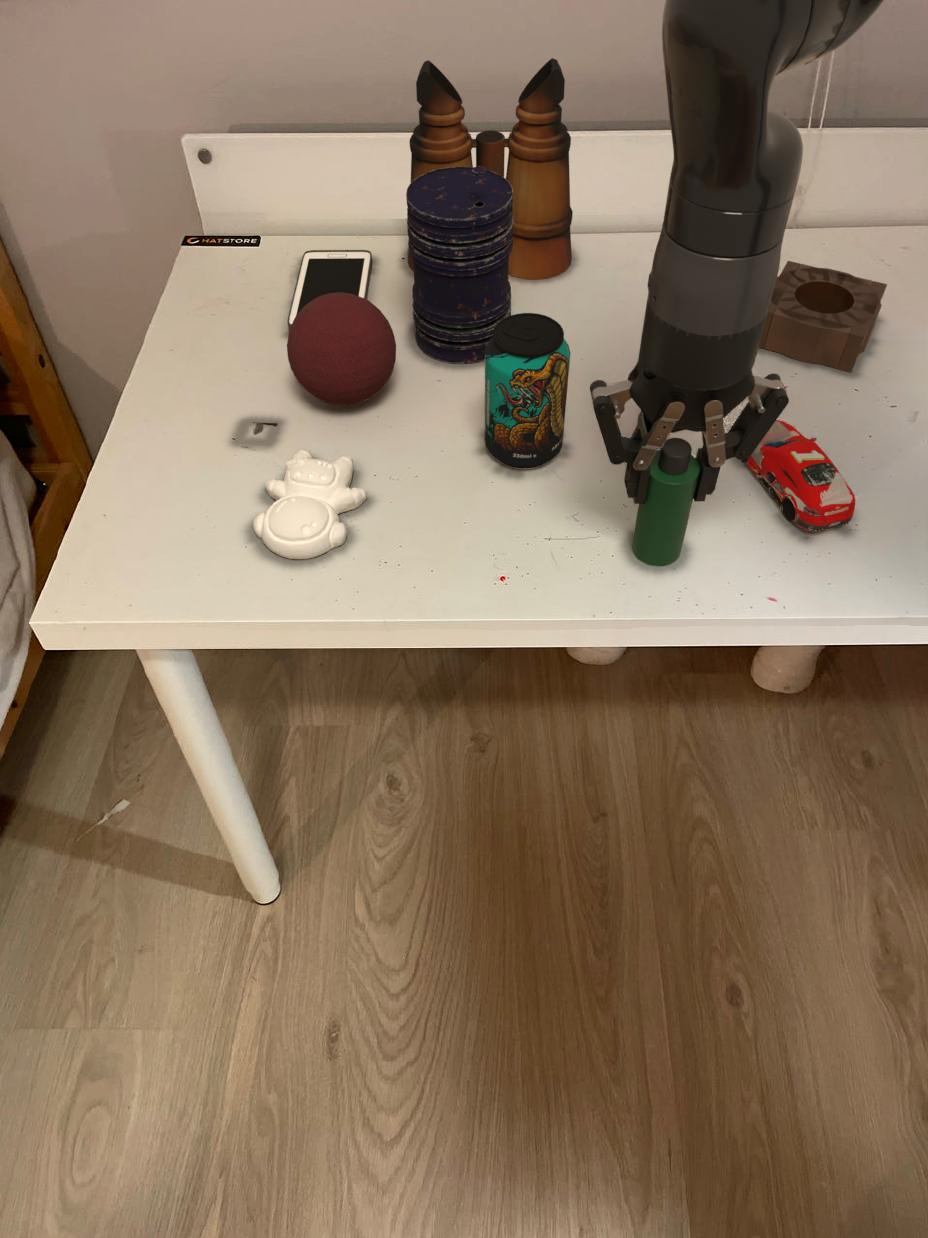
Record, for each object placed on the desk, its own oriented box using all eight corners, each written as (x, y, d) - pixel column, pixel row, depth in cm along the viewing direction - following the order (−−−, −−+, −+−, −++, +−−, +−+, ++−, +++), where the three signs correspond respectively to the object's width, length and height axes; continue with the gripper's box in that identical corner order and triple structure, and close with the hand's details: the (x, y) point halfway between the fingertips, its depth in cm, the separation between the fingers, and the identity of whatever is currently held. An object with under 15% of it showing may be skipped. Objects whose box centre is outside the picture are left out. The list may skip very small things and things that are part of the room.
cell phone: (373, 257, 105) (372, 249, 104) (362, 334, 96) (361, 325, 95) (305, 257, 105) (303, 249, 104) (287, 334, 96) (285, 326, 95)
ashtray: (878, 318, 96) (891, 283, 93) (853, 375, 90) (866, 339, 87) (776, 292, 99) (785, 257, 96) (746, 346, 93) (755, 310, 90)
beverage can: (538, 483, 81) (546, 369, 72) (470, 456, 84) (468, 342, 74) (575, 437, 85) (587, 323, 76) (509, 413, 87) (512, 298, 78)
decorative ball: (280, 382, 91) (261, 290, 83) (372, 351, 94) (362, 259, 86) (321, 440, 85) (305, 348, 78) (418, 405, 88) (411, 312, 81)
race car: (724, 442, 84) (733, 407, 81) (778, 430, 85) (789, 394, 82) (799, 543, 76) (812, 507, 73) (857, 528, 77) (873, 492, 74)
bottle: (687, 540, 77) (712, 438, 68) (670, 572, 75) (693, 472, 66) (641, 524, 78) (660, 423, 70) (624, 556, 76) (640, 455, 67)
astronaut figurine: (381, 471, 83) (378, 445, 80) (332, 569, 76) (327, 543, 73) (290, 454, 84) (285, 428, 82) (234, 548, 77) (226, 522, 75)
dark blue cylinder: (395, 330, 96) (380, 153, 82) (470, 296, 100) (468, 121, 86) (453, 377, 91) (447, 197, 77) (530, 339, 95) (538, 161, 81)
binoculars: (406, 280, 102) (391, 84, 86) (409, 241, 107) (396, 49, 91) (574, 278, 101) (590, 81, 86) (569, 239, 107) (583, 46, 91)
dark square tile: (271, 445, 86) (268, 436, 85) (239, 444, 86) (236, 434, 85) (277, 423, 87) (274, 413, 86) (247, 422, 87) (243, 412, 86)
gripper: (603, 335, 56) (580, 534, 69) (839, 326, 56) (771, 526, 69) (588, 267, 61) (569, 466, 74) (805, 259, 61) (748, 459, 74)
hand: (667, 494), depth 72 cm, fingers closed on bottle, 4 cm apart
